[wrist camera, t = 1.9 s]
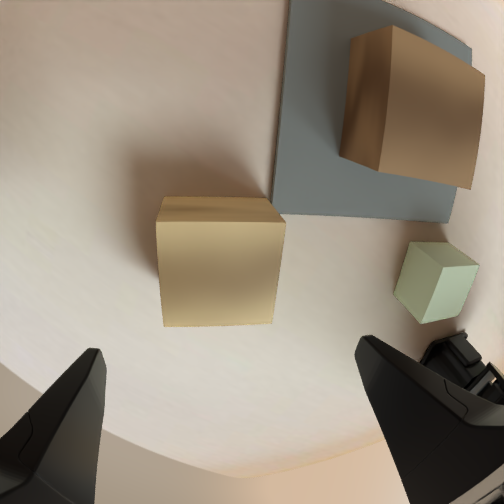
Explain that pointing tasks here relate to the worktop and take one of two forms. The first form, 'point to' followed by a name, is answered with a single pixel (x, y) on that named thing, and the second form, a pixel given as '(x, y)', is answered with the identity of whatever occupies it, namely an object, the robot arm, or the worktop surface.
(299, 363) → the worktop surface
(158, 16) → the worktop surface
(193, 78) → the worktop surface
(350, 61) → the walnut base brick
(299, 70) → the build mat
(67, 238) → the worktop surface
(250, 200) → the oak brick
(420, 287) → the sage brick
